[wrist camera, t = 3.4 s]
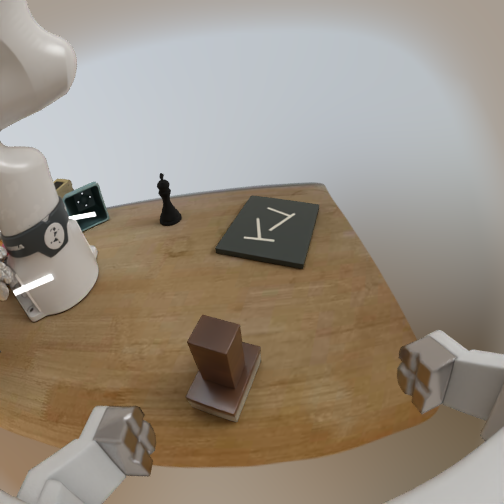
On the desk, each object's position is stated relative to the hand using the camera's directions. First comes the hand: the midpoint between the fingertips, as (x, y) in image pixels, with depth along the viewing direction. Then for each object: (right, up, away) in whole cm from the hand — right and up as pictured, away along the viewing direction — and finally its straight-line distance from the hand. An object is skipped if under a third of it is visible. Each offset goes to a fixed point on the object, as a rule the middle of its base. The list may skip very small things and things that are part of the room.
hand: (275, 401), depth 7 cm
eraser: (-3, -10, +21) cm, 23 cm away
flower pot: (-41, +17, +50) cm, 67 cm away
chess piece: (-17, +10, +46) cm, 50 cm away
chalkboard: (+3, +8, +42) cm, 43 cm away
